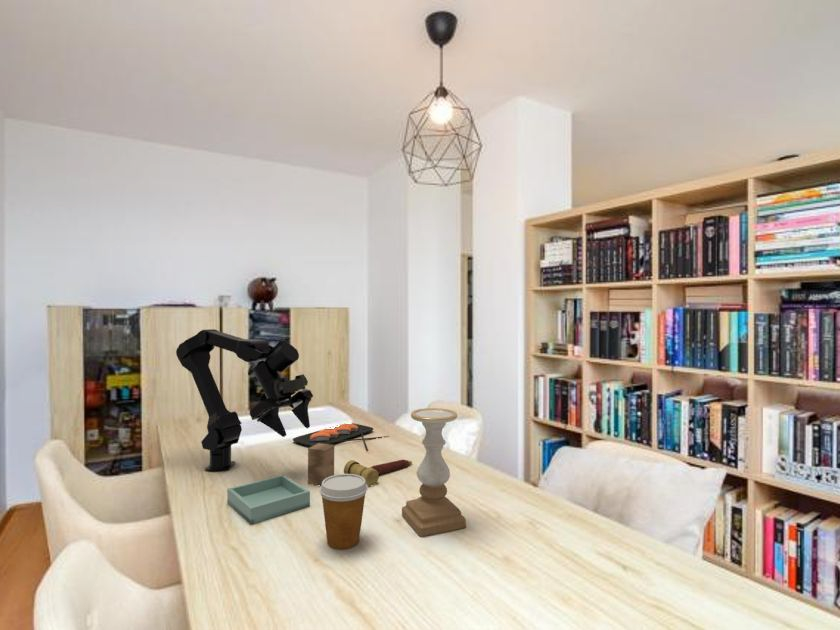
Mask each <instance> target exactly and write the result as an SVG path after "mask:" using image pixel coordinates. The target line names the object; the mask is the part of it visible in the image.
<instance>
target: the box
mask: <svg viewBox="0 0 840 630" xmlns="http://www.w3.org/2000/svg"><path fill="white" fill-rule="evenodd" d="M226 501H227V504H228V506H229V507H231V508H232V509H233V510H234V511H235V512H236V513H237V514H238V515H239V516H240V517H242V518H243V520H245V521H246V522H247V523H248V524H249V525H254V524H258V523H261V522H264V521H267V520H269V519H273V518H277V517H280V516H283V515H287V514H289V513H292V512H295V511H298V510H302V509H305V508H309V507H311V491H310V490H308V489H307V488H305V487H304V486H302V485H301V484H299V483H297V482H296V481H294V480H293V479H291V478H289V477H288V476H286V475H284V474H280V475H278V476H273V477H269V478H268V477H267V478H264V479H260V480H257V481H252V482H249V483H245V484H240V485H238V486H233V487H230V488H227V500H226Z"/></svg>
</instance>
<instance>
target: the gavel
mask: <svg viewBox="0 0 840 630" xmlns="http://www.w3.org/2000/svg"><path fill="white" fill-rule="evenodd" d="M410 465H413V462H412V460H407V459H400V460H399V459H397V460H393V461H390V462H385V463H380V464H376V465H372V466H369V467H366V466H365V465H362V464H360V462H358V461H356V460H352V459H351V460H349V461H347V462H346V463H345V465H344V467H343V474H355V475H359V476H362V477H363V478H364V479H365V481H366V484H367V486H369V487H372V486H371V485H373V486H375V485H377V483H378V481H379V475H382V474H386V473H390V472H395V471H399V470H402V468H403V469H406V468H408V466H410ZM374 484H375V485H374Z"/></svg>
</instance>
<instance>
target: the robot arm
mask: <svg viewBox="0 0 840 630" xmlns="http://www.w3.org/2000/svg"><path fill="white" fill-rule="evenodd" d="M215 347H216V348H219V349H223V350H225V351H229V352H231V353H234V354H235V355H236V357H237V358H238V359H239V360H242V361H243V362H246V363H252V362H258V363H256V364H251V365H250V366H249V370H248V373H247V375H248V376H255V377H256V379H257V381H258V383H259V385H260V387H261V389H260V390H259V392H260V394H261V395H264V394H265V396H266V398H264V399H261V400H259V401H258V402H257V403H256V404H254V405H253V406H252V407H251V408H250V409H249V416H250V418H251V420H252V421H255V420H256V421H257V422H258V423H261V424H263V425H265V426H266V427H268V428H270V429H271V430H273V431H274V432H275V433H276V434H278V435H280V436H281V437H283V438H285V437H286V436H287V433H286V432H287V431H286V429H285V427H284V424H283V422H282V420H281V418H280V415H279V412H280V408H282V407H288V406H289V408H291V412H292V413H293V414H294V416H295V417H296V418H297V419H298V421H299V422H300V423H301V424H302V425H303V426H304V427H305V428H306V429H309V428H310V427H311V424H310V416H309V404H310V402H311V401H312V398H313V397H314V394H313V393H312V391H311V389H307V388H306V386H308V384H309V383H308V382H309V380H308V379H307V377H306V375H304V374H299V375H296V376H295V377H294V379H291V380H288V378H287V377H286V376H284V377H282V375H281V372H284V371H286V370H287V369H288V368H289V367H291V366H292V365H293V364H294V363H295V362H297V361H298V360H299V357H300V354H299V351H298V349H297V348H295V347H294V346H293V345H292V344H291V343H289V342H287V340H286V339H282V340H278V342H277V343H276V344H275V345H274V346H273V345H271V344H270V343H269V342H268V341H267V340H266V339H256V338H254V339H252V338H250V339H247V338H242V337H240V336H239V337H238V336H235V335H232V334H230V333H225V332H221V331H219V330H217V329H214V328H211V329H210V328H209V329H202V330H200V331H198V333H196V334H195V335H193V336H191V337H189V338H187V339H186V340H184V341H183V342H181V343H180V344H179V345H178V347H177V348H176V350H175V351H176V352H175V354H176V357H177V359H178V361H179V364H181V366H182V367H183V368H185V370H188V372H190V373H191V375H192V378H193V381H194V383H195V385H196V389H197V390H198V393H199V396H200V398H201V400H202V402H203V406H204V407H205V410H206V413H207V415H208V421H207V425H206V428H207V434H206V435H205V436H204V438H203V439H202V440H201V442H200V443H201V446H202V449H203V450H208V451H209V464H208V466H207V467H206V468H204V469H205V470H204V471H205V472H211V471H213V472H218V471H221V472H222V471H230V469H231V468H232V467H233V466H234V465H235V464H236V460H235V461H234V460H232V445H234V444H238V443H239V440H240V437H241V433H242V430H243V429H242V422H241V420H240V418H239V414H238V412H236V411H230V410H228V409H227V407H226V405H225V402H224V400H223V397H222V395H221V393H220V391H219V388H218V386H217V383H216V380H215V378H214V375H213V374H212V371H211V368H210V361H211V352H212V351H213V350H214V349H215Z"/></svg>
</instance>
